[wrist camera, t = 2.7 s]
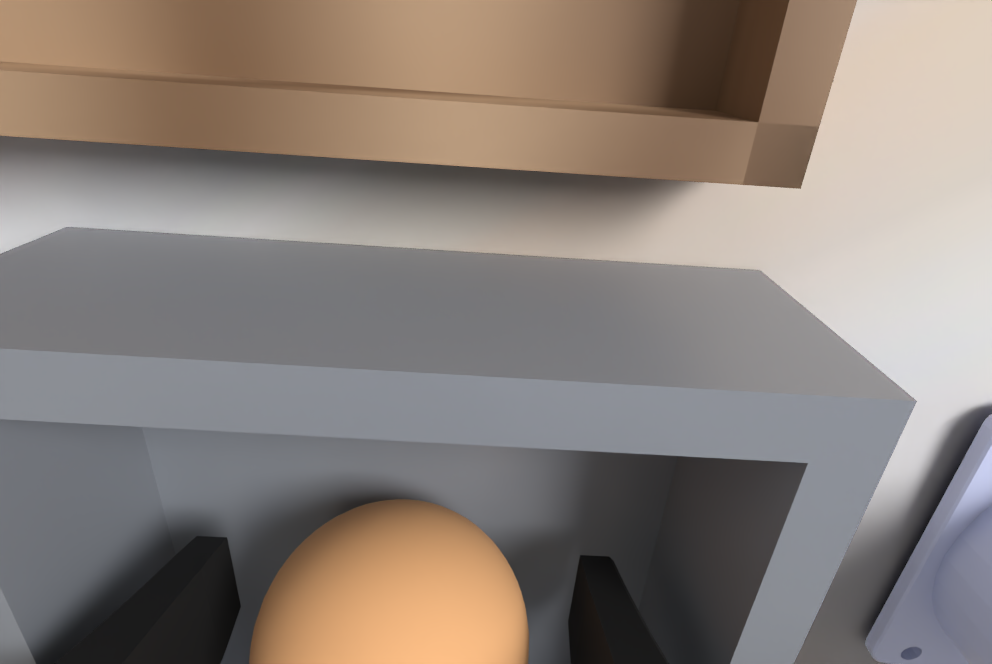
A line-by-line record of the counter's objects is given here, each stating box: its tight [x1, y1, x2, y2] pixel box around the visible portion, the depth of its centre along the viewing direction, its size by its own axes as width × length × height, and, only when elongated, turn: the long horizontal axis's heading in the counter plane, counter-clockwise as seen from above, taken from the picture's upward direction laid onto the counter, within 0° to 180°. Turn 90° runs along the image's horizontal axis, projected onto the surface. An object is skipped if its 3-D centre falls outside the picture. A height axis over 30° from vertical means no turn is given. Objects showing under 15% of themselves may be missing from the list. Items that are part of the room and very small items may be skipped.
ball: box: [249, 499, 529, 664], centre depth 11 cm, size 5×5×5 cm
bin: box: [0, 227, 917, 664], centre depth 11 cm, size 13×13×4 cm
